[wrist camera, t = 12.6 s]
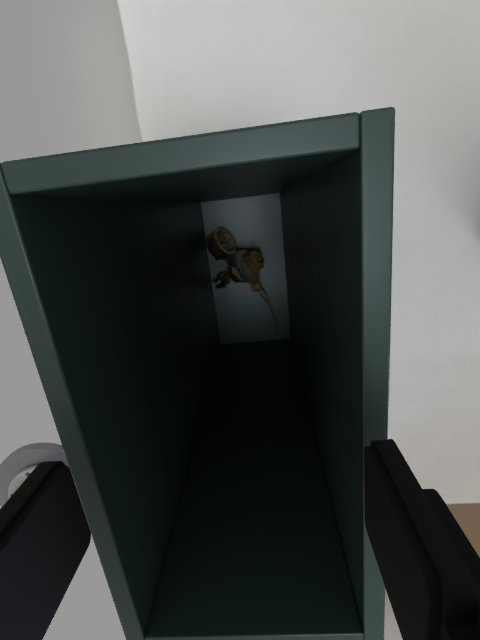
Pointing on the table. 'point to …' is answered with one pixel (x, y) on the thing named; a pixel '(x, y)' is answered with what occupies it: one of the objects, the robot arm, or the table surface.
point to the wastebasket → (217, 367)
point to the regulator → (237, 264)
